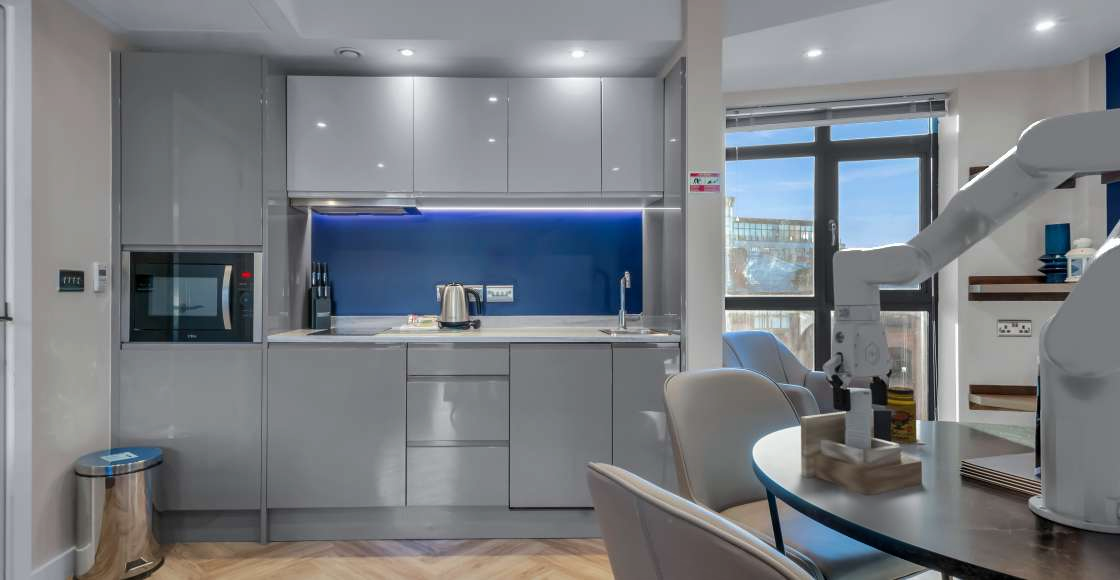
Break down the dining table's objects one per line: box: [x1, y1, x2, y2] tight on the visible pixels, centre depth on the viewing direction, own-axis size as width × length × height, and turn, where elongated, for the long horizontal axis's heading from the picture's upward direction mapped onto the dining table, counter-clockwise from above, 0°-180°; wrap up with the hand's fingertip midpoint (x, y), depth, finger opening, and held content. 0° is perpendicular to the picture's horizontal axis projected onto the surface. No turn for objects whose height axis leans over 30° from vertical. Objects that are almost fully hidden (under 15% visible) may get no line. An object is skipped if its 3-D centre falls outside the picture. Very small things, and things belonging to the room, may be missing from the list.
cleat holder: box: [800, 409, 923, 496], centre depth 105 cm, size 14×18×11 cm
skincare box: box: [845, 387, 872, 450], centre depth 105 cm, size 6×4×12 cm
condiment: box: [884, 386, 927, 445], centre depth 132 cm, size 7×8×12 cm
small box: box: [838, 404, 892, 442], centre depth 120 cm, size 11×6×10 cm, turn 179°
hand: (861, 407), depth 105 cm, fingers open, 9 cm apart
